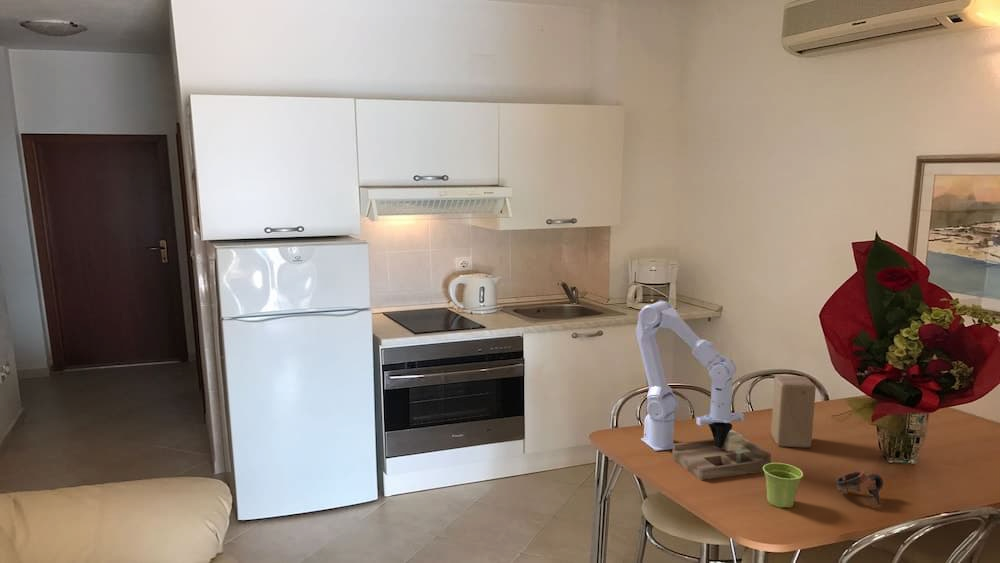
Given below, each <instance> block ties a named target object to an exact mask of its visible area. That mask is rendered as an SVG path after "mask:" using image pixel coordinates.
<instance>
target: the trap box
mask: <svg viewBox="0 0 1000 563" xmlns="http://www.w3.org/2000/svg"><path fill="white" fill-rule="evenodd" d="M671 454H672V456H671V459H672V460H674V462H675V463H676V462H678V465H680V466H681V465H682V467H683V468H684V469H685V468H686V470H687V471H688V470H689V471H690V473H691V474H692V473H693V474H694V475H693V474H692V475H693V476H694V477H696V476H697V477H698V478H697V477H696V478H697V479H699V480H700V479H701V480H700V481H706V480H705V479H707V480H713V479H720V478H727V477H734V476H742V475H748V474H747V473H750V474H754V472H757V473H762V471H763V466H764V465H766V464H769V463H771V460H772V459H771V457H772V453H771V452H770V451H767V450H766V449H763V448H762V447H760V446H758V445H757V444H755V443H754V442H752V441H750V440H748V439H747V438H745V437H742V447H741V451H730V452H728V451H726V450H724V449H723V448H718V447H717V446H715V442H714V438H711V439H702V440H697V441H696V440H695V441H687V442H677V443H675V444H673V449H672V452H671ZM689 471H688V472H689Z"/></svg>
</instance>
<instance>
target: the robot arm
mask: <svg viewBox="0 0 1000 563" xmlns="http://www.w3.org/2000/svg"><path fill="white" fill-rule="evenodd" d="M637 316H638V317H637V318H638V320H637V324H636V328H635V334H636V339H637V343H638V346H639V347H638V348H639V350H640V352H639V353H640V355H641V360H642V363H643V369H644V371H645V375H646V376H645V377H646V380H647V384H648V387H649V388H648V392H647V395H646V400H647V405H646V411H647V415H646V416H645V418H644V424H643V437H642V438H640V440H641V441H642V442H643V443H645V444H646V445H647V446H649V447H650V448H651V449H653V450H654V451H656V452H657V451H659V452H660V451H665V450H666V451H667V450H673V444H676V443H675V442H674V433H675V411H676V410H677V409H678V407H679V402H678V398H677V397H676V395H675V394H674V393H673V392H674V391H673V389H672V387H671V386H669V384H668V383H667V379H666V376H665V370H664V366H663V362H662V357H661V354H660V350H659V347H658V343H657V338H656V333H657V331H658V330H659V328H663V329H671V330H672V331H673V332H674V333H676V334H677V336H679V337H680V338H681V339H682V340H683V341H684V342H685V343H686V344H687V345H688V346H690V348H691V354H692V355H693V356H694V357H695V359H697V360H698V361H699V363H701V364H702V366H704V368H706V370H708V374H709V377H710V379H711V388H710V389H711V390H710V407H709V408H710V409H709V410H710V412H709V413H708V414H705V415H701V416H696V419H695V420H696V421H695V422H696V425H698V426H699V427H702V426H704V425H708V427H709V428H710V431H711V433H712V436H713V439H714V442H715V446H717V447H718V448H722V447H723V444H724V441H725V439H726V436H727V434H728V433H729V431H730V430H732V429H733V424H732V422H738V421H740V422H744V421H745V414H744V413H742V412H732V403H733V384H734V383H733V381H734V379H733V378H734V376H735V375H736V373H737V372H736V371H737V366H736V363H735V362H733V360H732V359H730V358H729V357H726V356H725V355H723V354H721V353H720V352H719V351H718V350H717V348H716V347H714V343H713V342H712V341H709V340H707V339H702V338H700V337H699V336H698V335H697V334H696V333H695V332H694V331H693V329H691V327H690V326H689V325H688V323H686V322H685V321H684V320H683V318H682V317H681V316H680V315H679V313H678V311H677V309H676V308H674V307H672V306H671V304H670V303H669V302H667V301H665V300H658V301H656V302H654V303H651V304H647V305H645V306H643V307H642V309H640V311H639V312H638V313H637Z"/></svg>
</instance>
